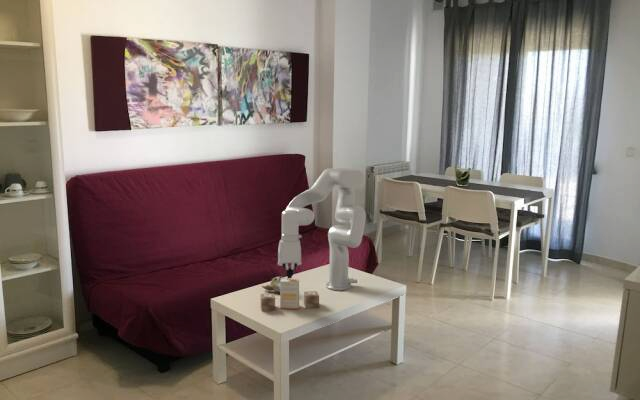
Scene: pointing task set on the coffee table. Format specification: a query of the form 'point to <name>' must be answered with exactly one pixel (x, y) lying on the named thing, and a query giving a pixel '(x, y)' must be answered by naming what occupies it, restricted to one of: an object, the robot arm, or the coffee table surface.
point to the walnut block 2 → (311, 299)
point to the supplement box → (289, 293)
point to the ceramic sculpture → (274, 284)
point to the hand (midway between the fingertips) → (289, 277)
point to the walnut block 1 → (267, 302)
